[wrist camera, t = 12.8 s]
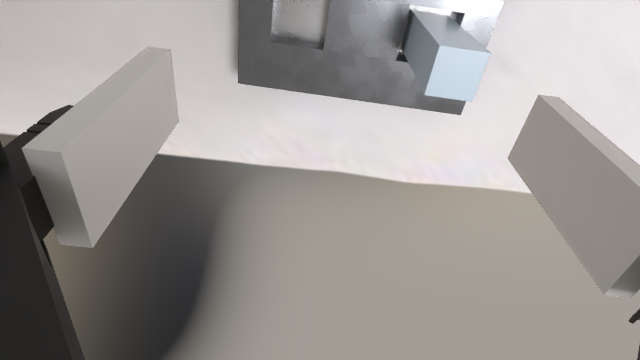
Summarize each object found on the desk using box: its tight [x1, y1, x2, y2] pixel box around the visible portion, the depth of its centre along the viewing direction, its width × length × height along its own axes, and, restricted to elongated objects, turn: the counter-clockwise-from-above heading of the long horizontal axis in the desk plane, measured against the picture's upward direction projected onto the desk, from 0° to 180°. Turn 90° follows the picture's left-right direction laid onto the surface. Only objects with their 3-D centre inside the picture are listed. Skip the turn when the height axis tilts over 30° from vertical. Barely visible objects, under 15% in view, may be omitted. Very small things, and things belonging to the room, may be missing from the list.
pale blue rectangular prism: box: [401, 10, 491, 102], centre depth 32 cm, size 4×4×12 cm
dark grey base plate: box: [238, 0, 504, 115], centre depth 36 cm, size 14×23×3 cm, turn 82°
